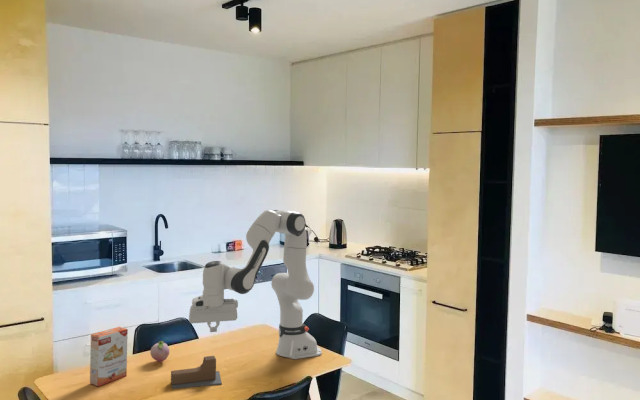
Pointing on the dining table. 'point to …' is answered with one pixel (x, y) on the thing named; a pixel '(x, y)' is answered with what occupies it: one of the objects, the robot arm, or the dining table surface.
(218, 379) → the charcoal rubber mat
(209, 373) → the wooden block
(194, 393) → the dining table surface
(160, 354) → the turnip
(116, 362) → the cracker box
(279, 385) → the dining table surface
